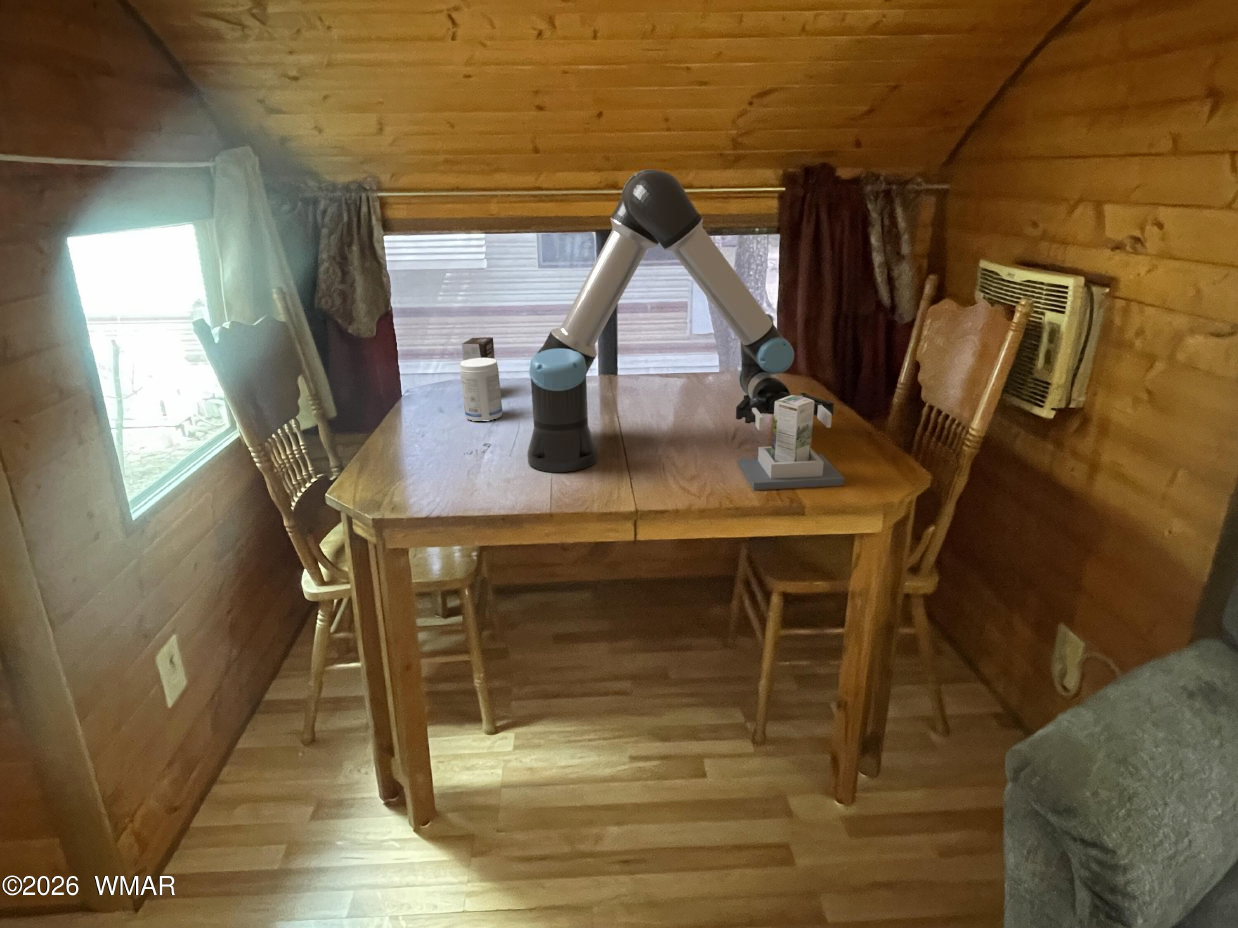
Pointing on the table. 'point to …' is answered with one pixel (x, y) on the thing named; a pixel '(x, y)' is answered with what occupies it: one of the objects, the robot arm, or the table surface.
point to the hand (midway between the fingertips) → (795, 422)
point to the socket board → (788, 472)
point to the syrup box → (792, 429)
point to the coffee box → (478, 348)
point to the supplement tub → (481, 389)
